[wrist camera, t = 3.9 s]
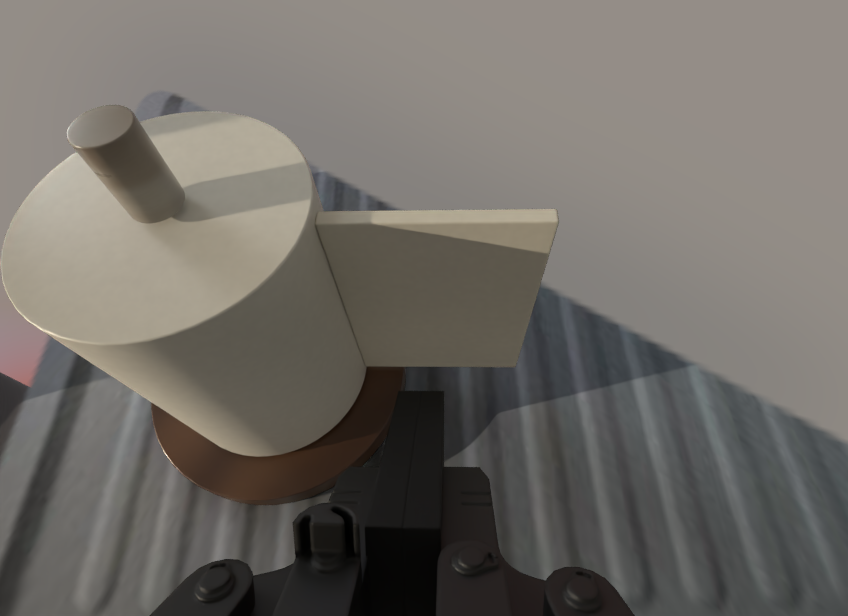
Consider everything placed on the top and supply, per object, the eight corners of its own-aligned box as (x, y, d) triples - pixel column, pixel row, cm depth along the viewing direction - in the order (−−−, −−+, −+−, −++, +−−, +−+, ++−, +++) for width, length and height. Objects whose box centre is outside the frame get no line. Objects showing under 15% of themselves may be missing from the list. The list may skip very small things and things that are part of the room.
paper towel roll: (148, 422, 25) (-75, 293, 14) (243, 272, 30) (129, 92, 19) (472, 537, 22) (496, 481, 11) (520, 347, 26) (570, 178, 16)
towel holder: (113, 455, 26) (-344, 266, 11) (241, 257, 33) (67, -29, 18) (349, 545, 23) (171, 455, 8) (436, 309, 30) (426, 21, 15)
